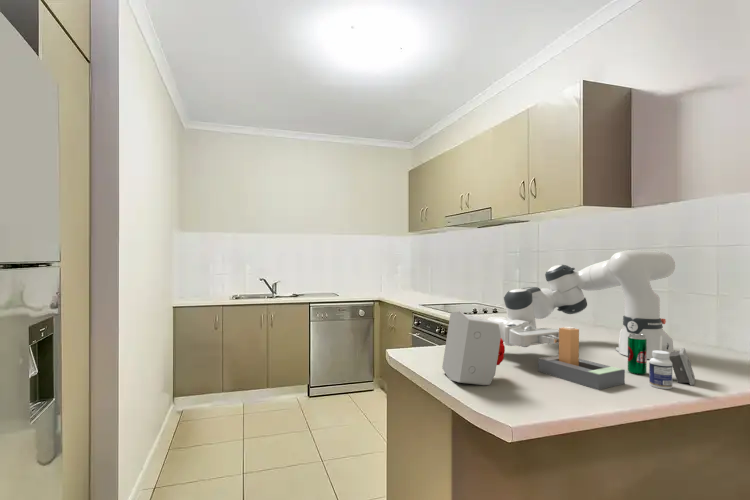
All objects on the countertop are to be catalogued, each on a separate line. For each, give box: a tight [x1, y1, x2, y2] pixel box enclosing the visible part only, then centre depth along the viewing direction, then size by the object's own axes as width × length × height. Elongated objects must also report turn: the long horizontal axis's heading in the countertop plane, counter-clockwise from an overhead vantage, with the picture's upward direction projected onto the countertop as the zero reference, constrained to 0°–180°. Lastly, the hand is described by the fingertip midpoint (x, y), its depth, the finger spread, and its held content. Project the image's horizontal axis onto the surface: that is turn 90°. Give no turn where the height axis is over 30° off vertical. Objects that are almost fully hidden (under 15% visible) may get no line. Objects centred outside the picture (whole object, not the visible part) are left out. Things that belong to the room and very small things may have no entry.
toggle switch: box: [537, 354, 626, 391], centre depth 126 cm, size 12×20×4 cm, turn 29°
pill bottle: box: [648, 350, 673, 390], centre depth 118 cm, size 5×5×10 cm
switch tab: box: [558, 326, 580, 366], centre depth 129 cm, size 4×4×13 cm
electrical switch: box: [669, 347, 696, 386], centre depth 124 cm, size 9×5×9 cm, turn 141°
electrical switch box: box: [441, 310, 506, 386], centre depth 123 cm, size 15×15×20 cm
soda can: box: [627, 334, 648, 376], centre depth 131 cm, size 5×5×12 cm
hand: (557, 341), depth 132 cm, fingers closed
